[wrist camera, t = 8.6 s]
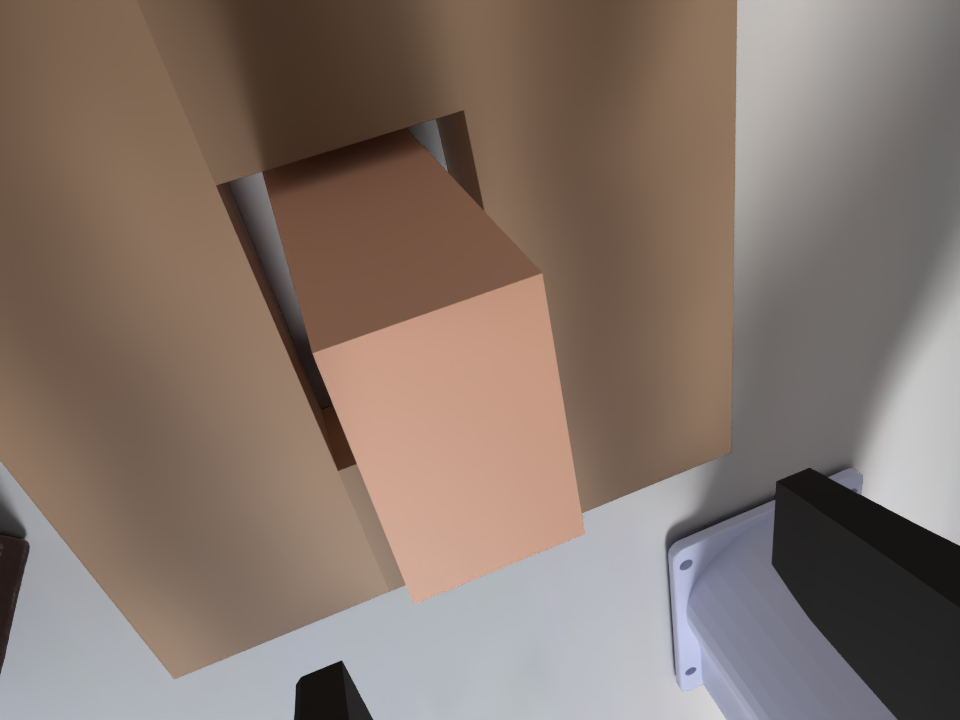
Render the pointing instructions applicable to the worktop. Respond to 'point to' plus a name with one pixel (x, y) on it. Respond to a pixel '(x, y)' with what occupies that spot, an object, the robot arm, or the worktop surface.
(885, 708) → the robot arm
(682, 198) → the socket plate
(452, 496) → the salmon brown rectangular block
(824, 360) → the worktop surface
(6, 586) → the box
